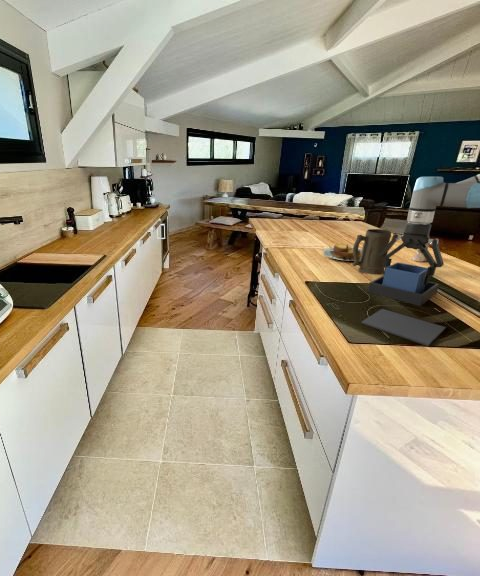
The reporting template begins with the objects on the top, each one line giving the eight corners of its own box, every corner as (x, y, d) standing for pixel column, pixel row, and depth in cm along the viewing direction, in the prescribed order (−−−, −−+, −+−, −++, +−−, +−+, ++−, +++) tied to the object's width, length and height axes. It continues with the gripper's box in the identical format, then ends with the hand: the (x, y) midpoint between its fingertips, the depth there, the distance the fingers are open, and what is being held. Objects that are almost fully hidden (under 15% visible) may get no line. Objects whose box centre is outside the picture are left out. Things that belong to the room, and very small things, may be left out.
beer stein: (374, 268, 153) (379, 227, 145) (391, 274, 143) (397, 231, 135) (345, 272, 151) (349, 231, 143) (360, 279, 141) (365, 235, 133)
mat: (447, 326, 96) (448, 324, 96) (428, 346, 86) (428, 344, 85) (384, 308, 109) (385, 306, 109) (360, 323, 99) (361, 321, 99)
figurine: (414, 257, 170) (423, 220, 163) (432, 260, 163) (442, 222, 156) (407, 260, 165) (416, 221, 158) (425, 263, 159) (436, 223, 152)
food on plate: (383, 262, 161) (386, 250, 159) (337, 264, 159) (339, 252, 157) (354, 250, 185) (356, 239, 183) (314, 252, 183) (315, 241, 180)
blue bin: (423, 293, 119) (430, 268, 116) (412, 300, 113) (419, 274, 109) (391, 285, 127) (397, 262, 124) (380, 292, 121) (385, 267, 118)
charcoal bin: (435, 295, 119) (439, 283, 118) (419, 308, 109) (423, 295, 107) (386, 283, 132) (388, 272, 130) (367, 293, 122) (369, 282, 120)
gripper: (377, 219, 118) (366, 273, 125) (459, 228, 99) (441, 290, 107) (385, 217, 122) (374, 269, 130) (466, 225, 104) (448, 285, 111)
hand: (404, 279), depth 118 cm, fingers open, 13 cm apart
